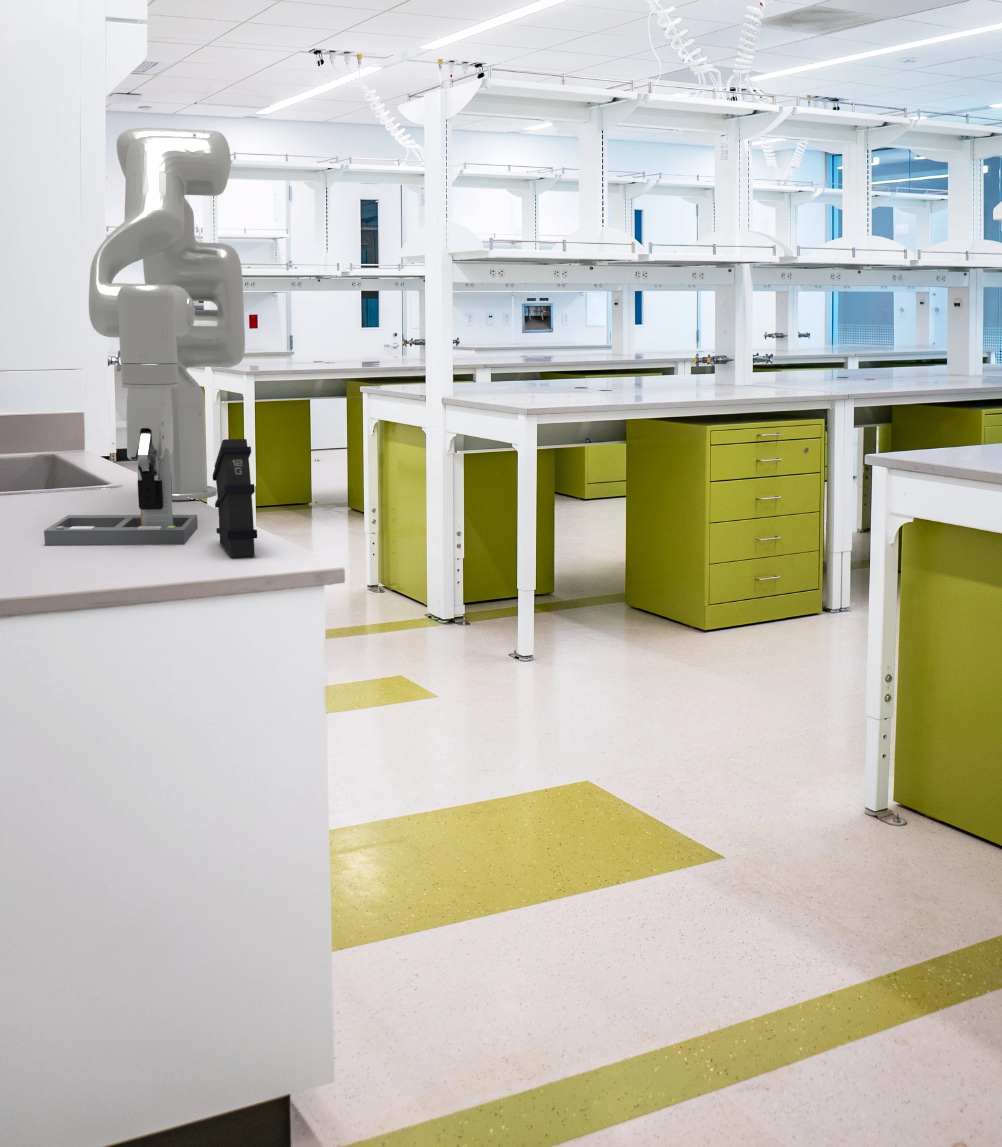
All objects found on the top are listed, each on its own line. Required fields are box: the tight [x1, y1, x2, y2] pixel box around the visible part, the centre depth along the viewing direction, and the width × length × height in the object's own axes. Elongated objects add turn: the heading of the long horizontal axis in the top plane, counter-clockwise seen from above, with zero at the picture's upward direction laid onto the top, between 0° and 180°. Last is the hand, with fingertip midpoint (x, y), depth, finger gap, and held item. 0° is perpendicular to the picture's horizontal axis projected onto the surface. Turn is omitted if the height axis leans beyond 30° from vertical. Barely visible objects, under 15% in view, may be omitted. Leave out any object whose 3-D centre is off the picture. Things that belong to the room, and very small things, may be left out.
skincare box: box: [136, 447, 174, 527], centre depth 167 cm, size 6×4×12 cm
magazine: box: [212, 438, 258, 559], centre depth 158 cm, size 4×13×15 cm, turn 21°
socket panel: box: [43, 514, 199, 546], centre depth 168 cm, size 13×18×2 cm
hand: (155, 503), depth 167 cm, fingers closed on skincare box, 6 cm apart
